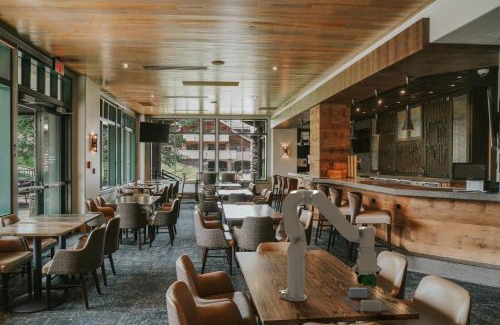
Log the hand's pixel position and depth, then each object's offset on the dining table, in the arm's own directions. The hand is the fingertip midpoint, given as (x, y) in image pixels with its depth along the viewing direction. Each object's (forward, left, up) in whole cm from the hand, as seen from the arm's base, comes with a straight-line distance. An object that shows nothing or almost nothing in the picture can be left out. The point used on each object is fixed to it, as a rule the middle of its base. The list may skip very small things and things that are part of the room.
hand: (366, 283), depth 220 cm
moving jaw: (0, +14, -12) cm, 18 cm away
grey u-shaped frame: (0, 0, -12) cm, 12 cm away
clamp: (0, 0, -1) cm, 1 cm away
